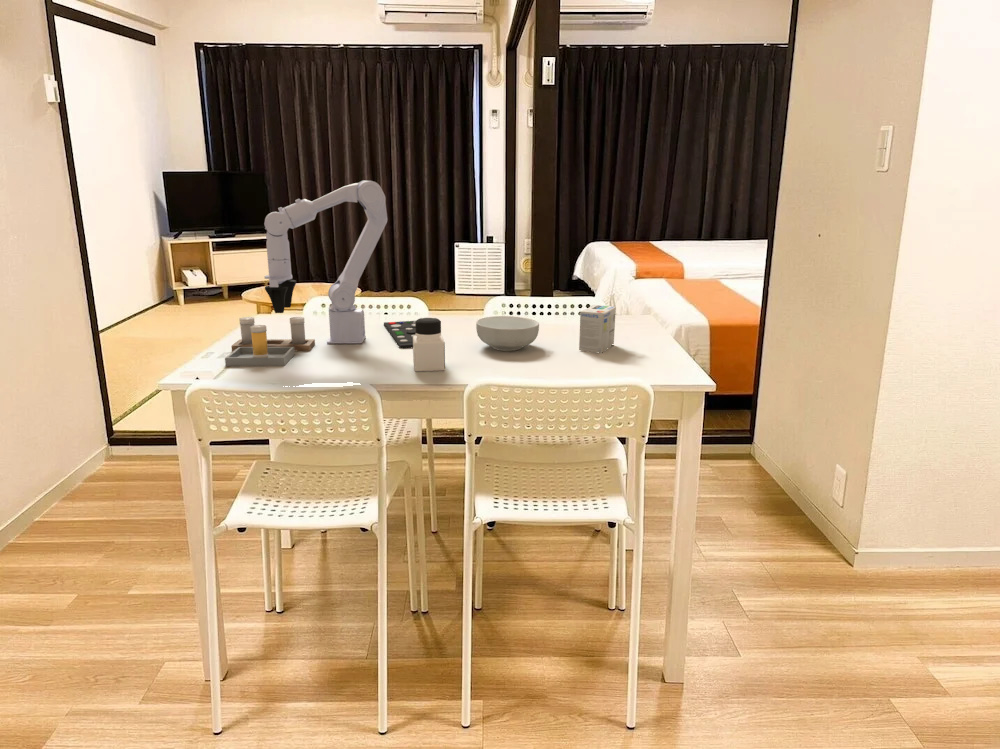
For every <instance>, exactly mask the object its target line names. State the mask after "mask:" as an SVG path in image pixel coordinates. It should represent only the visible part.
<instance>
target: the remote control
mask: <svg viewBox="0 0 1000 749" xmlns="http://www.w3.org/2000/svg"><path fill="white" fill-rule="evenodd" d="M415 322H416V320H406V321H405V320H403V321H401V320H400V321H389V322H388V321H385V322H383V326H384V328H385V329H386V331H387V333H388V334H389V333H390V334H389V336H390V337H391V338H392V339H393V341H394V340H395V341H394V342H395V344H396V343H397V344H396V345H397V347H398V346H399V347H398V348H399V349H400V348H403V349H412V348H411V347H413V336H416V328H415Z"/></svg>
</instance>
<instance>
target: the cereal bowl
mask: <svg viewBox="0 0 1000 749" xmlns="http://www.w3.org/2000/svg"><path fill="white" fill-rule="evenodd" d="M475 328H476V329H475V330H476V333H477V337H478V338H479V340H481V342H482V343H484V344H486V345H488V346H489V347H492V348H493V349H494V350H497V349H498V351H503V350H506V351H505V352H509V351H511V352H512V350H513V351H517V350H518V351H519V350H521V349H522V348H523V347H526V346H529V345H530V344H532V343H533V342H534V341H535V340H536V339H537V337H538V335H539V332H540V322H539V321H538V320H536V319H532V318H527V317H520V316H514V315H513V316H509V315H506V316H505V315H498V316H497V315H496V316H495V315H494V316H487V317H481V318H480V319H477V320H476V325H475Z"/></svg>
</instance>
